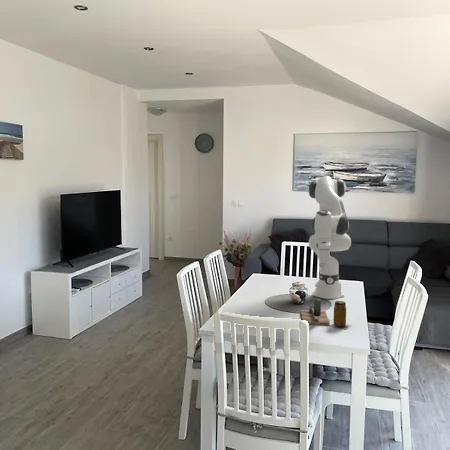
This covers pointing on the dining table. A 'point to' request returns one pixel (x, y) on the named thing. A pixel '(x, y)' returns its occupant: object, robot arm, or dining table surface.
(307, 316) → the board
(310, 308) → the lever
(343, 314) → the condiment
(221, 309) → the dining table surface
